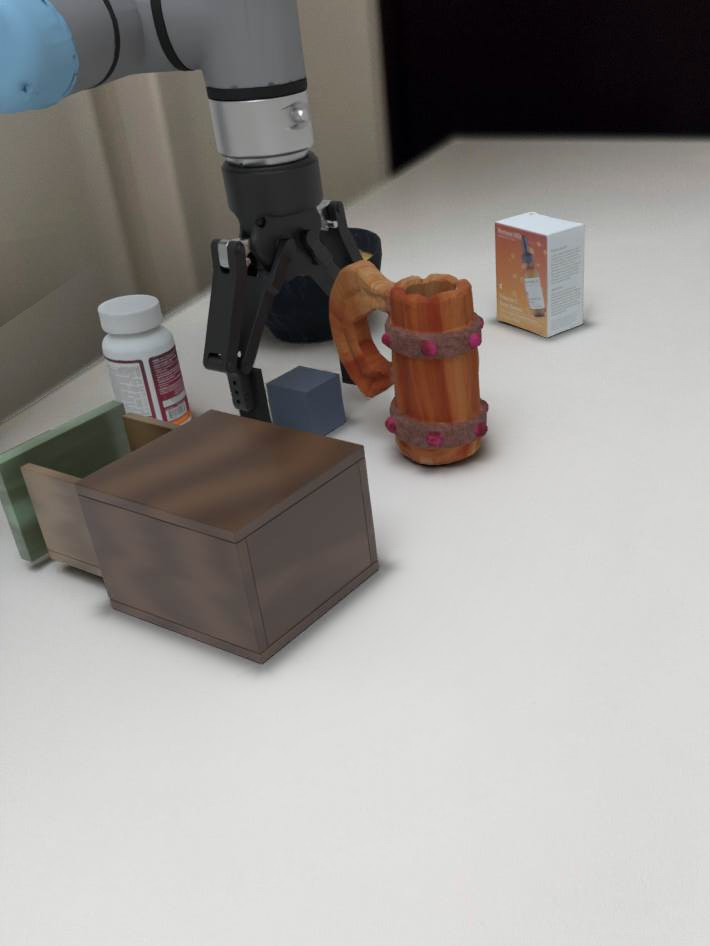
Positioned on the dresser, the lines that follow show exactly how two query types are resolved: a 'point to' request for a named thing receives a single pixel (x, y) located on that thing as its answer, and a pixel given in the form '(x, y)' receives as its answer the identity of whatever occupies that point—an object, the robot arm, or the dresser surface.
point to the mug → (415, 357)
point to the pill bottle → (143, 359)
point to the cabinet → (232, 530)
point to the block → (307, 400)
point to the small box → (540, 273)
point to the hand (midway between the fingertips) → (310, 411)
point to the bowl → (313, 299)
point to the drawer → (66, 480)
